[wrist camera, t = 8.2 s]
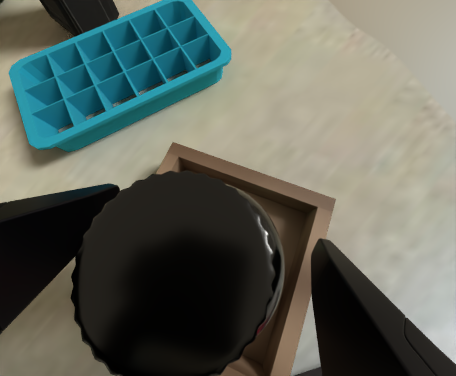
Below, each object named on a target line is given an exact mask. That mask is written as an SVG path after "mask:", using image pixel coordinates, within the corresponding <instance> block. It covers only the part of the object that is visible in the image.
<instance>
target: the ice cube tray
mask: <svg viewBox="0 0 456 376" xmlns="http://www.w3.org/2000/svg"><path fill="white" fill-rule="evenodd" d="M208 59H210V60H211V61H212V62H210V63H208V64H206V65H204V66H201V67H199V68H196V66H195V65H198V64H200V63H202V62H204V61H206V60H208ZM230 60H231V49H230V48H229V46H228V45H227V44H226V43H225V41H224V40H223V39H222V38H221V36H220V35H219V34H218V32H217V31H216V30H215V29H214V27H213V26H212V25H211V24H210V22H209V21H208V20H207V19H206V17H205V16H204V15H203V14H202V12H201V11H200V10H199V9H198V7H197V6H196V5H195V4H194V2H193V1H192V0H162V1H160V2H157V3H155V4H153V5H150V6H148V7H145V8H143V9H141V10H138V11H136V12H133V13H131V14H129V15H126V16H124V17H121V18H119V19H117V20H114V21H112V22H109V23H107V24H105V25H102V26H100V27H97V28H95V29H93V30H90V31H88V32H85V33H83V34H81V35H78V36H76V37H73V38H71V39H69V40H66V41H64V42H61V43H59V44H57V45H54V46H52V47H49V48H47V49H45V50H42V51H40V52H37V53H35V54H33V55H30V56H28V57H25V58H23V59H21V60H19V61H17V62H16V63H15V64H14V65H12V66H11V69H10V71H9V76H10V79H11V83H12V86H13V89H14V93H15V96H16V100H17V103H18V107H19V110H20V113H21V117H22V120H23V124H24V127H25V131H26V134H27V138H28V141H29V144H30V145H32V146H33V147H35V148H37V149H39V150H45V149H51V148H53V147H55V146H56V147H58V148H60V149H62V150H64V151H67V152H71V151H75V150H79V149H81V148H83V147H85V146H87V145H89V144H91V143H93V142H95V141H97V140H99V139H101V138H103V137H106V136H108V135H110V134H112V133H114V132H116V131H118V130H120V129H122V128H124V127H126V126H128V125H130V124H132V123H134V122H136V121H139V120H141V119H143V118H145V117H147V116H149V115H151V114H153V113H155V112H157V111H159V110H161V109H163V108H165V107H167V106H170V105H172V104H174V103H176V102H178V101H180V100H182V99H184V98H186V97H188V96H190V95H192V94H194V93H196V92H198V91H201V90H203V89H205V88H207V87H209V86H211V85H213V84H215V83H217V82H218V81H219V80H220V79H221V78H222V73H223V66H226V65H227V64H228V63H229V62H230ZM185 70H187V72H188V73H187V74H184V75H182V76H180V77H178V78H176V79H174V80H172V81H169V82H168V81H167V79H168V78H170V77H172V76H174V75H176V74H178V73H180V72H183V71H185ZM161 81H162V82H163V85H161V86H159V87H157V88H155V89H152V90H150V91H148V92H146V93H144V94H142V95H139V93H138V92H140V91H142V90H144V89H146V88H148V87H150V86H153V85H155V84H157V83H159V82H161ZM133 94H136V96H137V97H135V98H133V99H131V100H129V101H127V102H125V103H123V104H120V105H118V106H116V107H113V105H112V104H114V103H116V102H118V101H120V100H123V99H125V98H127V97H129V96H131V95H133ZM103 108H105V110H106V112H103V113H101V114H99V115H97V116H95V117H93V118H91V119H89V120H86V116H88V115H90V114H93V113H95V112H97V111H99V110H101V109H103ZM71 123H73V125H74V127H72V128H69V129H67V130H65V131H63V132H61V133H59V131H58V129H60V128H63V127H65V126H67V125H69V124H71Z"/></svg>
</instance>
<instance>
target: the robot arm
mask: <svg viewBox="0 0 456 376" xmlns="http://www.w3.org/2000/svg"><path fill="white" fill-rule="evenodd" d="M119 192H120V189H119V187H118V186H117V185H114V184H103V185H98V186H92V187H87V188H81V189H76V190H70V191H65V192H59V193H54V194H48V195H43V196H37V197H32V198H26V199H21V200H15V201H10V202H4V203H0V334H1V333H2V331H4V330H5V329H6V328H7V327H8V326H9V325H10V324H11V323H12V321H13V320H14V319H15V318H16V317H17V316H18V315H19V314H20V313H21V312H22V311H23V310H24V309H25V308H26V307H27V306H28V305H29V304H30V303H31V302H32V301H33V300H34V299H35V298H36V297H37V295H38V294H39V293H40V292H41V291H42V290H43V289H44V288H45V287H46V286H47V285H48V284H49V283H50V282H51V281H52V280H53V279H54V278H55V277H56V276H57V275H58V274H59V273H60V272H61V271H62V269H63V268H64V267H65V266H66V265H67V264H68V263H69V262H70V261H71V260H72V259H73V258H74V257H75V255H76V253H77V252H78V250H79V249H80V247H81V245H82V238H83V235H84V234H85V233H86V232H87V231H88V229H89V228H90V227H91V224H92V220H93V218H94V217H95V216H97V215H98V214H99V213H101V211H102V209H103V207H104V206H105V204H106V203H107V202H109V201H110V200H112V199H114V198H115V197H116V196H117V194H118V193H119ZM311 294H312V303H313V310H314V318H315V325H316V333H317V340H318V348H319V355H320V363H321V370H322V376H456V364H455V363H454V362H453V361H452V360H450V359H449V358H448V357H447V356H446V355H445V354H444V353H443V352H442V351H441V350H440V349H439V348H438V347H436V346H435V345H434V344H433V343H432V342H431V341H430V340H429V339H428V338H427V337H426V336H425V335H424V334H423V333H422V332H421V331H420V330H419V329H418V328H417V327H416V326H415V325H414V324H413V323H412V322H411V321H410V320H409V319H408V318H405V315H404V314H403V313H402V312H401V311H400V310H399V309H398V308H397V307H396V306H395V305H394V304H393V303H392V302H391V301H390V300H389V299H388V298H387V297H386V296H385V295H384V294H383V293H382V292H381V291H380V290H379V289H378V288H377V287H376V286H375V285H374V284H373V283H372V282H371V281H370V280H369V279H368V278H367V277H366V276H365V275H364V274H363V273H362V272H361V271H360V270H359V269H358V268H357V267H356V266H355V265H354V264H353V263H352V262H351V261H350V260H349V259H348V258H347V257H346V256H345V255H344V254H343V253H342V252H341V251H340V250H339V249H338V248H337V247H336V246H335V245H334V244H333V243H332V242H331V241H330V240H327V239H323V238H319V239H318V240H317V242H316V245H315V247H314V249H313V251H312V253H311Z"/></svg>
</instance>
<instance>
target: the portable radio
mask: <svg viewBox="0 0 456 376" xmlns="http://www.w3.org/2000/svg"><path fill="white" fill-rule="evenodd" d="M40 2H41V3H42V5H43V6H44V8H45V9H46V11H47V12H48V14H49V15H50V16H51V17H52V18H53V19H54V20H55V21H57V22H58V23H59V24H60V25H62V26H63V27H64V28H65V29H67V30H68V31H69V32H71V33H72V34H73V35H75V36H78V35H81V34H83V33H85V32H88V31H90V30H93V29H95V28H97V27H100V26H102V25H105V24H107V23H109V22H112V21H114V20H116V19H117V17H118V16H119V12H118V10H117V8H116V6H115V4H114V2H113V0H40Z"/></svg>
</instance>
